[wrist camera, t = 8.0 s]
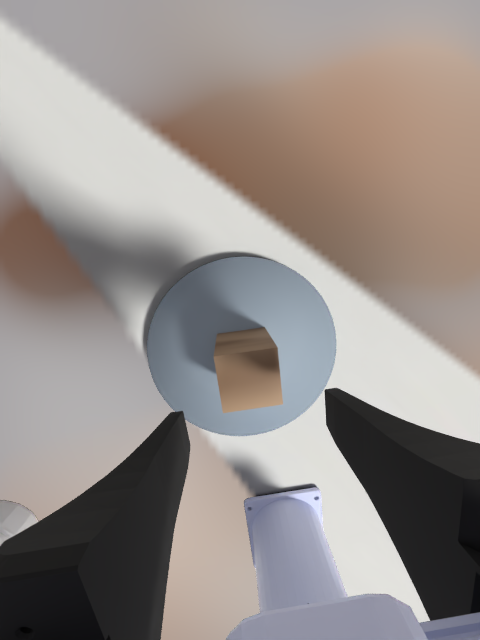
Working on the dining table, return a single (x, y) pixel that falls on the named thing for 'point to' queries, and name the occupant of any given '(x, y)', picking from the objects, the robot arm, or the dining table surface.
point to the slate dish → (235, 315)
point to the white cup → (14, 519)
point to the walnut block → (247, 370)
